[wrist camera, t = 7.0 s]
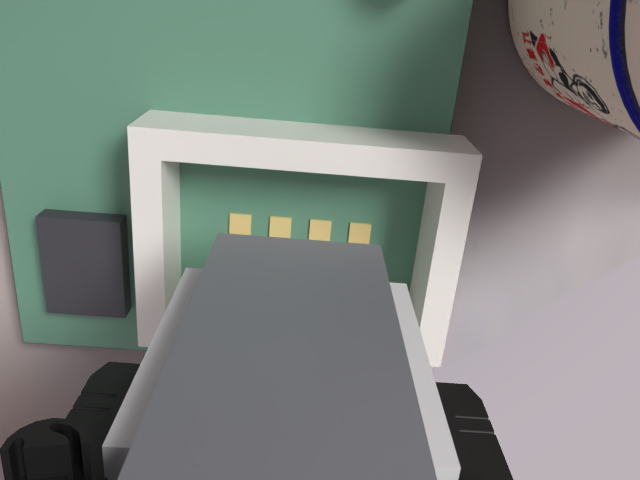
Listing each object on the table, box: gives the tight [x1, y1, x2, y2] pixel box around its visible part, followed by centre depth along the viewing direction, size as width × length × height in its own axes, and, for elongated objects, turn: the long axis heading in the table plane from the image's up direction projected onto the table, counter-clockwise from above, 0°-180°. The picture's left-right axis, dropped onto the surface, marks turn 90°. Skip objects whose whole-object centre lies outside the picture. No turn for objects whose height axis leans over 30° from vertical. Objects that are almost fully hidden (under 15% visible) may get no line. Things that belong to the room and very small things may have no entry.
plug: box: [117, 233, 437, 480], centre depth 12 cm, size 5×4×10 cm
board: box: [0, 0, 473, 350], centre depth 20 cm, size 18×16×3 cm
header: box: [127, 110, 483, 367], centre depth 21 cm, size 8×11×3 cm
